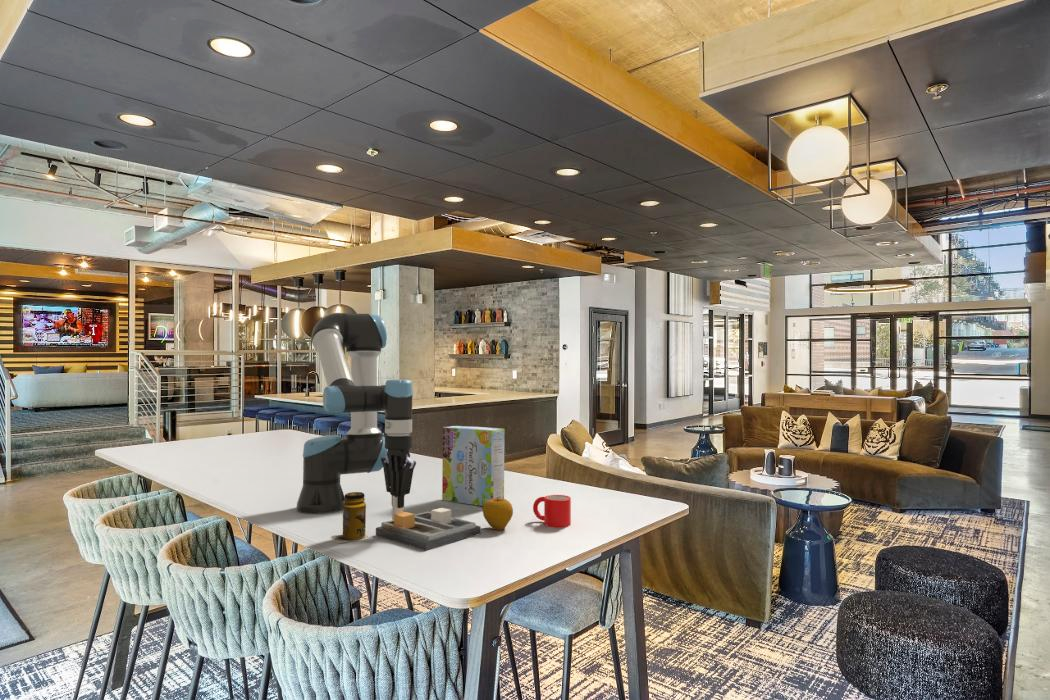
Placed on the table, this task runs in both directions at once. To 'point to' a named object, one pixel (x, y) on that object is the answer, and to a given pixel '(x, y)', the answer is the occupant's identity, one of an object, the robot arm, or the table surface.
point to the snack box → (472, 464)
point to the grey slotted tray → (428, 532)
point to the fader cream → (441, 515)
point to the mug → (554, 510)
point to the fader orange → (404, 520)
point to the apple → (497, 513)
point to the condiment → (353, 518)
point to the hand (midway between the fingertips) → (397, 518)
